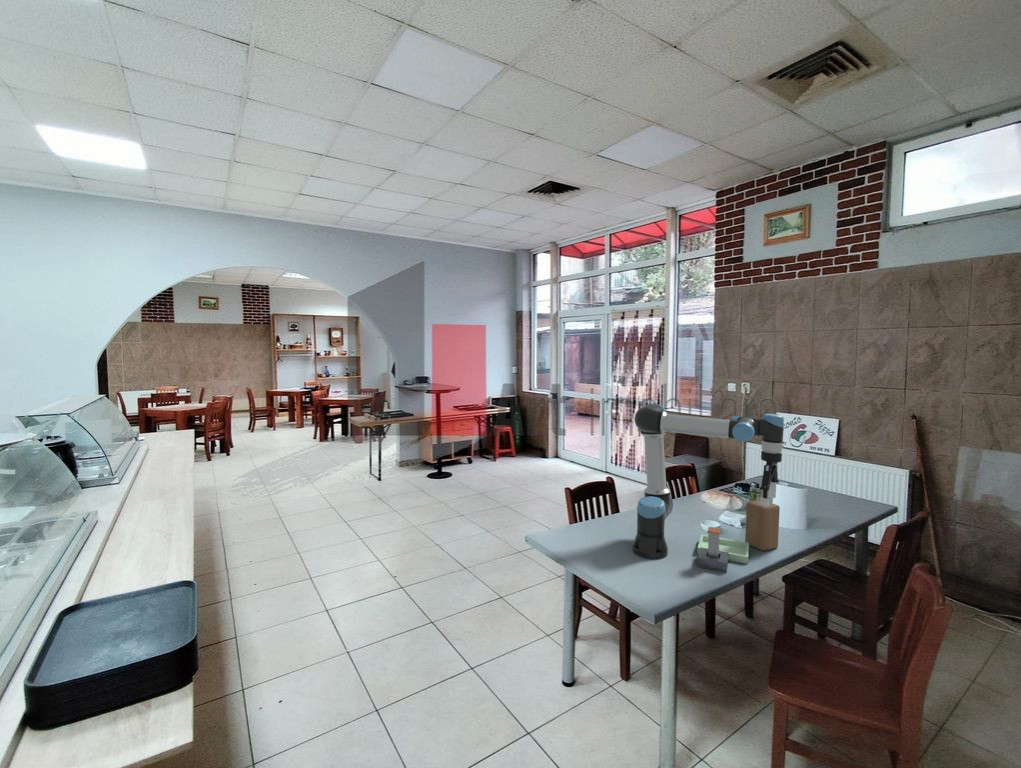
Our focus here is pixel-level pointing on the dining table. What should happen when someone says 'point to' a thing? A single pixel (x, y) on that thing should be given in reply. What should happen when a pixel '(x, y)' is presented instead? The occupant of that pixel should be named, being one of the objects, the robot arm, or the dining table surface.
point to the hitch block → (713, 560)
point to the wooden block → (762, 525)
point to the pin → (713, 542)
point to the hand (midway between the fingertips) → (768, 501)
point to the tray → (729, 548)
